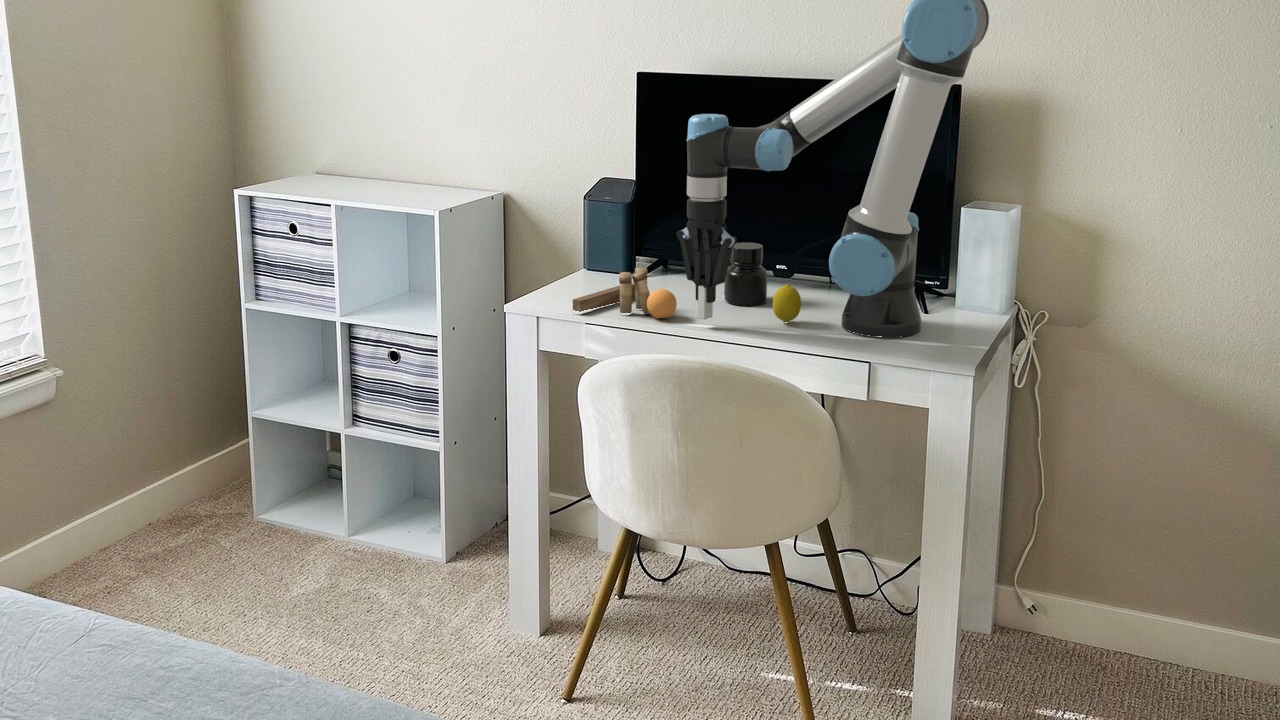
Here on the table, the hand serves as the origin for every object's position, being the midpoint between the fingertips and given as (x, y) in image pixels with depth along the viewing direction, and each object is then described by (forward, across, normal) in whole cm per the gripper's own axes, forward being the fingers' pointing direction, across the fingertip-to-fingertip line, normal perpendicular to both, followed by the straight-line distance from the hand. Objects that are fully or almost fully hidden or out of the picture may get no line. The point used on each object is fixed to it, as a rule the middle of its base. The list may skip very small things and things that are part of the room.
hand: (705, 317), depth 228 cm
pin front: (+2, +14, 0) cm, 14 cm away
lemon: (+2, -11, -12) cm, 16 cm away
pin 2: (+2, +18, -2) cm, 19 cm away
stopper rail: (+2, +26, 0) cm, 26 cm away
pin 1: (+2, +18, +2) cm, 19 cm away
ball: (-1, +11, 0) cm, 11 cm away
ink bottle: (+2, +5, -21) cm, 22 cm away
